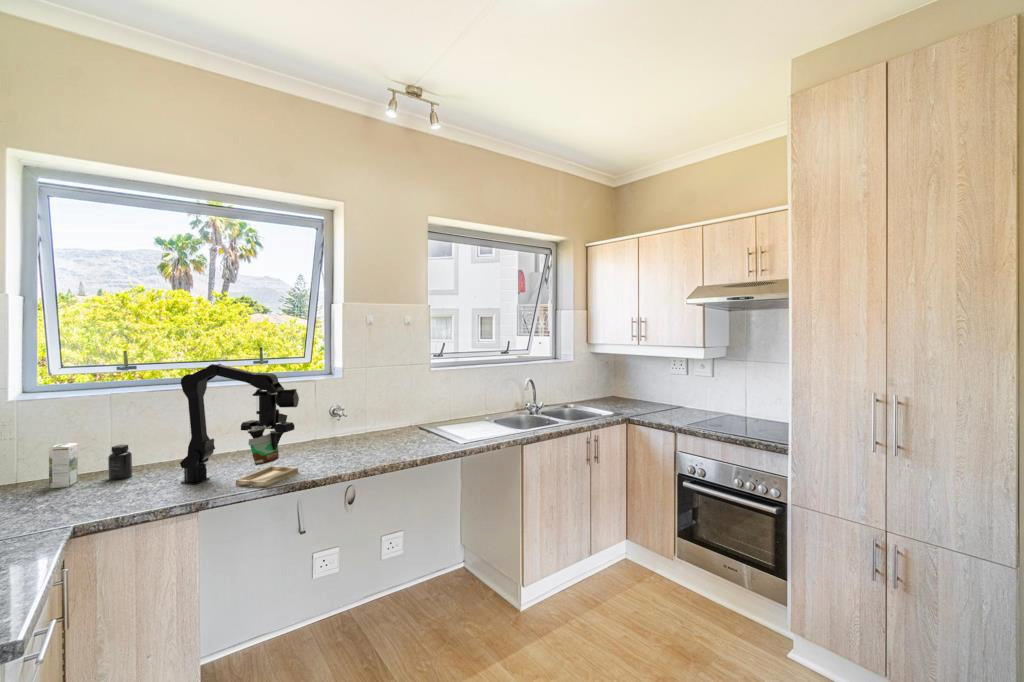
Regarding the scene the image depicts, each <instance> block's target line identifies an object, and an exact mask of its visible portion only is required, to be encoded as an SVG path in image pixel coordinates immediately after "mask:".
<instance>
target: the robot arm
mask: <svg viewBox="0 0 1024 682" xmlns="http://www.w3.org/2000/svg"><path fill="white" fill-rule="evenodd" d="M215 377H221V378H226V379H229V380H230V379H231V380H234V381H239V382H242V383H243V382H244V383H247V384H249V385H251V386H252V387H254V388H257V389H256V391H254V393H253V394H252V396H253V397H258V410H257V411H256V413H255V414H256V415H258V420H256V419H255V420H254V419H253V420H252V419H250V420H247V421H243V422H242V423H241V424H240V431H247V434H249V435H250V436H251V438H252V439H254V438H258V437H260V436H263V435H264V432H265V430H273V431H274V432H272V433H270V432H269V433H270V434H271V441H272V447H273V450H276V448H277V446H278V447H279V442H280V441H281V438H282V436H283V435H284V433H287V432H291V431H294V430H295V424H294V422H292V421H291V422H288V421H287V419H288V415H287V414H284V413H280V410H279V408H297V407H298V405H299V402H300V397H299V394H298V392H297V388H291V389H285V388H284V387H283V385H282V384H281V383H280V382H279V378H278V376H277V374H274V373H272V372H256V371H255V372H254V371H249V370H245V369H242V368H236V367H232V366H228V365H224V364H221V363H213V364H209V365H208V366H207V367H205V368H203V369H200V370H198V371H196V372H194V373H193V372H191V373H188V374H185V375H184V376H182V378H181V379H180V386H181V390H182V392H183V394H184V395H185V397H186V399H187V402H188V415H189V424H190V434H191V437H190V441H189V443H188V447H187V455H186V456H185V457H184V458H183V459H182V460H181V461H180V462H179V464H180V467H181V469H184V471H183V472H184V473H183V474H184V479H183V480H182V481H180V484H182V485H186V484H187V485H198V484H200V482H201V483H203V482H206V481H208V480H210V479H211V478H210V477H208V476H207V475H208V473H207V471H208V470H207V463H206V462H208V461H209V460H210V458H211V456H212V455H213V454H214V450H216V446H215V439H214V438H210V437H209V435H208V433H207V422H206V420H207V419H206V410H205V400H204V396H205V393H206V390H207V387H208V382H209V381H211V380H213V379H214V378H215ZM277 406H278V407H279V408H277ZM184 483H185V484H184ZM197 483H198V484H197Z"/></svg>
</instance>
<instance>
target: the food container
mask: <svg viewBox="0 0 1024 682" xmlns="http://www.w3.org/2000/svg"><path fill="white" fill-rule="evenodd" d="M272 432H274V430H270V431H269V433H268V434H265V435H264V434H263V436H260V437H258V438H254V439H253V438H249V439H248V446H250V450H251V455H252V457H253V461H254V465H255V466H261V465H265V464H269V463H273V462H275V461H277V460H279V457H280V456H279V445H278V446H277V448H276V450H273V447H272V441H271V434H270V433H272Z"/></svg>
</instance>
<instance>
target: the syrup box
mask: <svg viewBox="0 0 1024 682" xmlns="http://www.w3.org/2000/svg"><path fill="white" fill-rule="evenodd" d="M78 462H79V461H78V443H77V442H75V443H74V442H68V443H67V442H66V443H65V442H64V443H58V444H55V445H52V446H51V447H49V448H48V474H49V475H48V489H58V488H69V487H71V486H74V485H75V484H76V483H78V476H79V475H78V466H79V465H78Z"/></svg>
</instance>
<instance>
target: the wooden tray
mask: <svg viewBox="0 0 1024 682" xmlns="http://www.w3.org/2000/svg"><path fill="white" fill-rule="evenodd" d="M296 473H297V474H299V467H293V466H283V465H282V466H280V465H279V466H278V465H270V466H267V467H265V468H262V469H260V470H258V471H255V472H252V473H250V474H248V475H245V476H243V477H240V478H238V479H235V486H236V485H239V486H238V487H244V486H252V487H251V488H257V487H260V489H266V488H269V487H271V486H273V485H275V484H277V483H279V481H280V482H281V480H282V481H283V479H284V480H286V479H288V478H290V477H292V476H294V474H295V475H297V474H296ZM287 477H288V478H287ZM285 478H286V479H285Z"/></svg>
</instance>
